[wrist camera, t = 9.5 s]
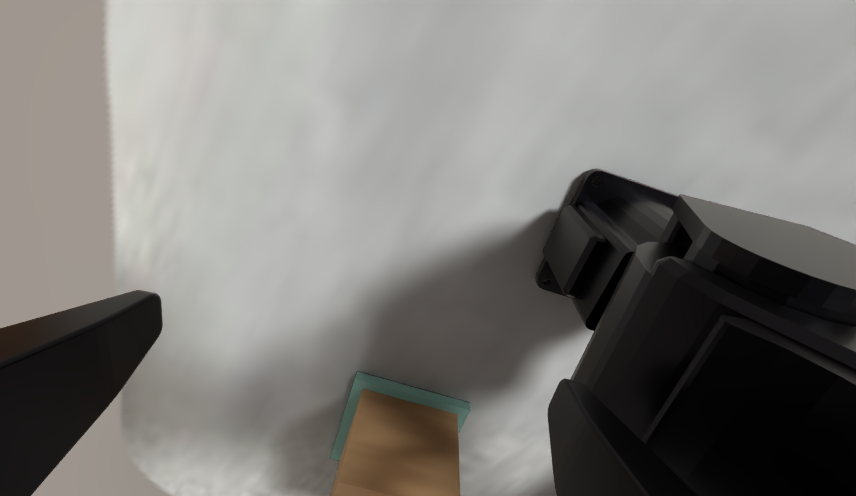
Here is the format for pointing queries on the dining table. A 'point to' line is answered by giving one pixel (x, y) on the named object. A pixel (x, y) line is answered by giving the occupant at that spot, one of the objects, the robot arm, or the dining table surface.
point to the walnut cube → (398, 450)
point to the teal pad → (399, 392)
